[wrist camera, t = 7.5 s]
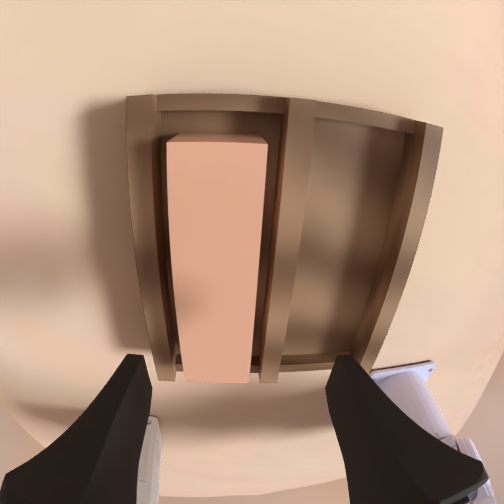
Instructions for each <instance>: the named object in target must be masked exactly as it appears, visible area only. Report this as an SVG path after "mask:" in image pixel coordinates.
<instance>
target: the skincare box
mask: <svg viewBox="0 0 504 504" xmlns="http://www.w3.org/2000/svg"><path fill="white" fill-rule="evenodd" d="M161 450H162V438H161V433H160V428H159V423H158V419H157V418H156V417H153V416H149V418H148V423H147V427H146V432H145V436H144V441H143V446H142V450H141V455H140V461H139V467H138V480H137V504H158V503H159V480H160V464H161Z"/></svg>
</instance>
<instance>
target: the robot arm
mask: <svg viewBox="0 0 504 504" xmlns="http://www.w3.org/2000/svg"><path fill="white" fill-rule="evenodd" d="M435 366H436V363H435V361H431V362H426V363H420V364H415V365H409V366H403V367H397V368H390V369H383V370H376V371H372V372H371V373H370V374H369V375H368V373H367V372H366V371H365V370H364V369H363V368H362V366H361V365H360V364H359V363H358V362H357V360H356V359H355V358H354V357H353V356H352V355H339V356H336V359H335V362H334V365H333V368H332V371H331V374H330V377H329V379H328V382H327V385H326V388H325V390H326V396H327V402H328V408H329V412H330V416H331V419H332V423H333V426H334V429H335V432H336V436H337V439H338V442H339V446H340V449H341V452H342V456H343V460H344V464H345V469H346V476H347V482H348V489H349V498H350V504H497V503H496V501H495V498H494V492H493V488H492V486H491V484H490V479H489V476H488V473H487V471H486V468H485V466H484V464H483V462H482V460H481V458H480V455H479V453H478V451H477V449H476V448H475V446H474V444H473V442H472V441H471V439H470V438H468V437H463V436H461V437H460V438H458V439H456V438H455V437H454V436H453V434H452V432H451V430H450V428H449V426H448V424H447V422H446V420H445V418H444V416H443V414H442V412H441V410H440V408H439V406H438V404H437V402H436V400H435V398H434V397H433V395H432V393H431V391H430V389H429V387H428V385H427V383H426V381H427V379H428V378H429V376H430V375H431V373H432V371H433V370H434V368H435ZM151 397H152V386H151V382H150V378H149V375H148V371H147V367H146V363H145V359H144V355H136V354H127V355H126V356H125V358H124V359H123V361H122V362H121V364H120V365H119V367H118V368H117V370H116V371H115V372H114V374H113V375H112V377H111V378H110V379H109V381H108V382H107V384H106V385H105V386H104V387H103V389H102V390H101V391H100V393H99V394H98V395H97V397H96V398H95V399H94V400H93V402H92V403H91V404H90V405H89V406H88V408H87V409H86V410H85V411H84V412H83V414H82V415H81V416H80V417H79V418H78V419H77V420H76V421H75V422H74V423H73V424H72V425H71V426H70V427H69V428H68V429H67V430H66V431H65V432H64V433H63V434H62V435H61V436H60V437H59V438H57V439H56V440H55V441H54V442H53V443H52V444H50V445H49V446H48V447H47V448H45V449H44V450H43V451H41V452H40V453H39V454H38V455H36V456H34V457H33V458H32V459H30V460H29V461H27V462H26V463H24V464H22V465H21V466H19V467H17V468H15V469H14V470H12V471H10V472H8V473H7V474H6V475H5V477H4V480H3V483H2V487H1V490H0V504H137V480H138V467H139V461H140V455H141V450H142V446H143V441H144V436H145V432H146V427H147V423H148V418H149V414H150V406H151ZM472 497H473V498H472ZM469 499H470V500H469Z"/></svg>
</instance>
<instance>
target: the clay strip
mask: <svg viewBox="0 0 504 504" xmlns="http://www.w3.org/2000/svg"><path fill="white" fill-rule="evenodd" d="M267 151H268V144H267V142H266V141H265V140H264V139H263V138H262V136H261V135H259V134H237V133H179V134H178V135H176V136H175V137H173V138H172V139H171V140H169V141H168V142H167V191H168V216H169V235H170V250H171V264H172V276H173V287H174V298H175V308H176V317H177V326H178V334H179V342H180V350H181V357H182V364H183V371H184V378H185V381H187V382H217V383H249V377H250V366H251V354H252V342H253V330H254V318H255V306H256V294H257V281H258V269H259V256H260V244H261V231H262V218H263V205H264V191H265V178H266V164H267Z"/></svg>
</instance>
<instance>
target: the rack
mask: <svg viewBox="0 0 504 504" xmlns="http://www.w3.org/2000/svg"><path fill="white" fill-rule="evenodd" d="M179 133H237V134H259V135H261V136H262V138H263V139H264V140H265V141H266V142H267V144H268V151H267V164H266V178H265V191H264V205H263V218H262V231H261V244H260V256H259V269H258V281H257V294H256V306H255V318H254V330H253V342H252V354H251V366H250V373H259V379H260V383H277V379H278V374H279V372H296V371H313V370H327V369H332V368H333V365H334V362H335V359H336V356H339V355H352V356H353V357H354V358H355V359H356V360H357V362H358V363H359V364H360V365H361V366H362V368H363V369H364V370H365V371H366V372H367V373H368V375H369V373H370V371H371V369H372V367H373V365H374V362H375V360H376V358H377V356H378V353H379V351H380V349H381V347H382V344H383V342H384V340H385V337H386V335H387V332H388V330H389V327H390V325H391V322H392V320H393V317H394V315H395V312H396V310H397V307H398V304H399V301H400V299H401V296H402V293H403V290H404V288H405V285H406V282H407V279H408V276H409V273H410V270H411V267H412V263H413V260H414V257H415V254H416V250H417V247H418V244H419V240H420V237H421V233H422V229H423V226H424V222H425V218H426V214H427V210H428V206H429V202H430V198H431V193H432V189H433V184H434V179H435V174H436V169H437V164H438V159H439V153H440V147H441V141H442V134H443V128H442V127H439V126H435V125H432V124H428V123H424V122H420V121H416V120H412V119H408V118H404V117H400V116H395V115H391V114H386V113H382V112H377V111H372V110H367V109H362V108H356V107H351V106H345V105H339V104H332V103H326V102H319V101H315V100H307V99H298V98H284V97H272V96H259V95H240V94H164V95H139V96H127V97H126V140H127V167H128V185H129V199H130V211H131V222H132V231H133V240H134V249H135V257H136V264H137V271H138V278H139V285H140V291H141V297H142V303H143V309H144V315H145V320H146V326H147V331H148V336H149V341H150V345H151V350H152V355H153V359H154V364H155V368H156V372H157V377H158V380H160V381H175V377H176V371H183V364H182V357H181V350H180V342H179V334H178V326H177V317H176V308H175V298H174V287H173V276H172V264H171V250H170V235H169V216H168V191H167V142H168V141H169V140H171V139H172V138H173V137H175V136H176V135H178V134H179ZM183 372H184V371H183Z"/></svg>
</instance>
